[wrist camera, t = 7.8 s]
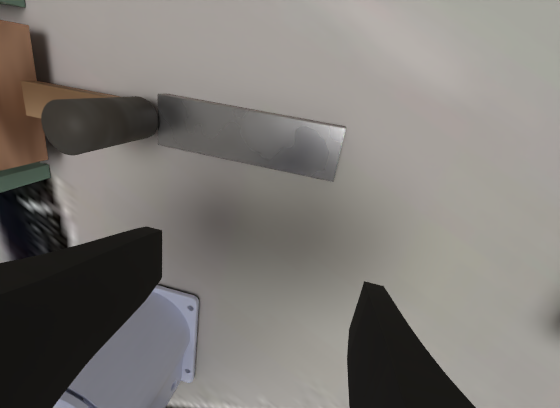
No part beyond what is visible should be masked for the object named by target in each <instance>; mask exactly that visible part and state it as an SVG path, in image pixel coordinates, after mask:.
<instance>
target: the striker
mask: <svg viewBox="0 0 560 408" xmlns="http://www.w3.org/2000/svg"><path fill="white" fill-rule="evenodd" d="M157 126H158V117H157V113H156V110H155V109H154V107H153V105H152V104H151V103H150V102H149V101H147V100H146V99H144V98H142V97H137V96H135V97H119V96H114V95H109V94H103V93H98V92H93V91H88V90H82V89H77V88H72V87H66V86H61V85H56V84H51V83H45V82H40V81H37V79H36V73H35V66H34V59H33V52H32V45H31V39H30V32H29V25H24V24H19V23H13V22H8V21H3V20H0V171H1V170H6V169H10V168H14V167H18V166H23V165H27V164H31V163H35V162H39V161H44V160H48V154H47V147H46V140H45V135H46V137H47V139H48V140H49V142H50V143H51V144H52V145H53V146H54V147H55V148H56V149H57V150H59V151H60V152H62V153H64V154H67V155H78V154H82V153H86V152H90V151H94V150H99V149H103V148H107V147H111V146H115V145H119V144H123V143H127V142H131V141H135V140H140V139H144V138H148V137H150V136H152V135H153V134H154V133H155V131H156V129H157ZM44 133H45V134H44Z"/></svg>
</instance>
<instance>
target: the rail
mask: <svg viewBox="0 0 560 408" xmlns="http://www.w3.org/2000/svg"><path fill="white" fill-rule="evenodd" d="M345 130H346V127H345V126H340V125H335V124H329V123H324V122H318V121H313V120H307V119H302V118H296V117H291V116H286V115H280V114H275V113H269V112H264V111H258V110H253V109H247V108H242V107H236V106H231V105H226V104H220V103H215V102H209V101H204V100H198V99H193V98H187V97H182V96H176V95H171V94H158V145H161V146H166V147H171V148H175V149H180V150H185V151H190V152H194V153H199V154H204V155H209V156H213V157H218V158H223V159H228V160H233V161H237V162H242V163H247V164H252V165H256V166H261V167H266V168H271V169H275V170H280V171H285V172H290V173H294V174H299V175H304V176H309V177H314V178H318V179H323V180H328V181H334V177H335V173H336V169H337V164H338V160H339V156H340V151H341V147H342V143H343V139H344V134H345Z"/></svg>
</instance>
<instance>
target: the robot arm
mask: <svg viewBox="0 0 560 408" xmlns="http://www.w3.org/2000/svg"><path fill="white" fill-rule="evenodd" d="M161 278H162V230H158V229H154V228H150V227H142V228H137V229H133V230H130V231H126V232H122V233H119V234H115V235H112V236H109V237H105V238H102V239H98V240H95V241H91V242H88V243H84V244H81V245H77V246H73V247H69V248H66V249H62V250H58V251H54V252H50V253H46V254H42V255H38V256H33V257H29V258H24V259H19V260H14V261H9V262H4V263H0V408H165V407H166V406H167V404H168V402H169V400H170V399H171V397H172V395H173V393H174V392H175V390H176V388H177V386H178V385H179V383H180V381H184V382H187V383H191V382H192V381H193V379H194V374H195V358H196V341H197V325H198V309H199V300H198V298H197V297H196V296H194V295H191V294H187V293H184V292H180V291H176V290H173V289H169V288H166V287H162V286H159V285H157V284H158V283H159V281H160V280H161ZM190 305H191V306H192V307H191V306H190ZM347 365H348V387H349V406H350V408H476V407H475V406H474V405H473V404H472V403H471V402H470V401H469V400H468V399H467V398H466V396H465V395H464V394H463V393H462V392H461V391H460V390H459V389H458V387H457V386H456V385H455V384H454V383H453V382H452V381H451V380H450V378H449V377H448V376H447V375H446V374H445V372H444V371H443V370H442V369H441V368H440V366H439V365H438V364H437V362H436V361H435V360H434V359H433V357H432V356H431V355H430V353H429V352H428V351H427V350H426V348H425V347H424V346H423V344H422V343H421V342H420V340H419V339H418V337H417V336H416V335H415V333H414V332H413V330H412V329H411V327H410V326H409V325H408V323H407V322H406V320H405V319H404V317H403V316H402V314H401V313H400V311H399V310H398V308H397V306H396V305H395V303H394V302H393V300H392V299H391V297H390V295H389V294H388V292H387V291H386V289H385V288H384V286H380V285H377V284H373V283H369V282H365V281H364V284H363V287H362V291H361V294H360V297H359V300H358V303H357V306H356V310H355V313H354V316H353V319H352V322H351V325H350V328H349V339H348V355H347Z"/></svg>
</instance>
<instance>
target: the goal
mask: <svg viewBox="0 0 560 408" xmlns="http://www.w3.org/2000/svg"><path fill="white" fill-rule="evenodd" d="M0 4H5V5H12V6H19V7H25V1H24V0H0ZM47 178H51V177H50V171H49V165H48V164H43V163H39V162H35V163H31V164H27V165H23V166H18V167H14V168H10V169H6V170H1V171H0V192H4V191H7V190H10V189H14V188H17V187H20V186H24V185H27V184H30V183H34V182H37V181H41V180H44V179H47Z"/></svg>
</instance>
